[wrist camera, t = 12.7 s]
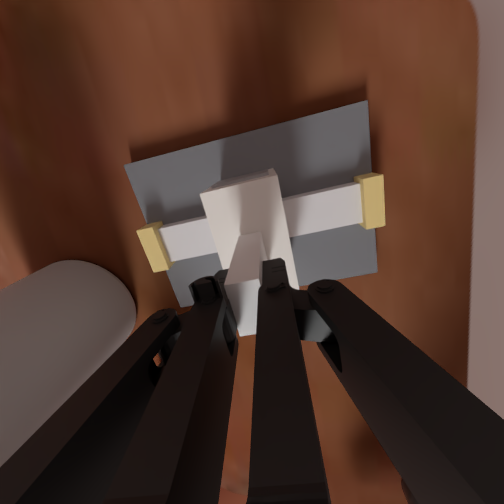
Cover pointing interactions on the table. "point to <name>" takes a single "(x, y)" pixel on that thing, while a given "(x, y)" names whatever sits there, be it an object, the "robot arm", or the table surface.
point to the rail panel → (292, 192)
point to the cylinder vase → (55, 341)
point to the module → (249, 217)
